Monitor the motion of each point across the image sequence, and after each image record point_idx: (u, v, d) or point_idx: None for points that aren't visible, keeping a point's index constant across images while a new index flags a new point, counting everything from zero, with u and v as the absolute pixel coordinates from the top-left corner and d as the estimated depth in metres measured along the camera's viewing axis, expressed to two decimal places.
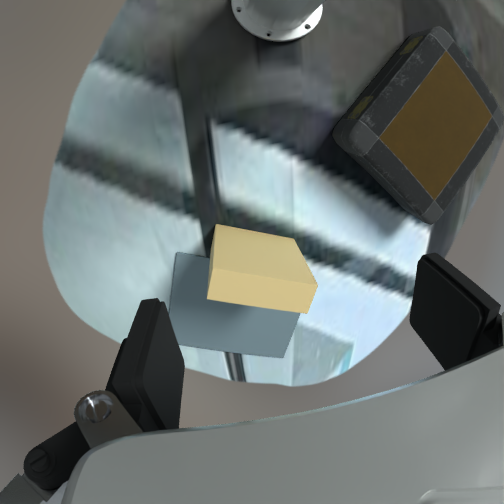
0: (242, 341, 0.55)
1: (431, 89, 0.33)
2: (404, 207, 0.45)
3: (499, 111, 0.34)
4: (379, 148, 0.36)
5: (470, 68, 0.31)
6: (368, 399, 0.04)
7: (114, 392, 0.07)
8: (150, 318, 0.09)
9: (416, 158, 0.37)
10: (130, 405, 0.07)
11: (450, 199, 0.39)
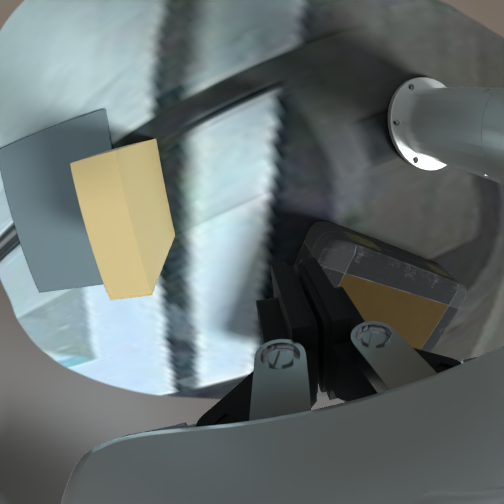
0: (34, 237, 0.36)
1: (409, 306, 0.36)
2: None
3: None
4: (334, 279, 0.34)
5: (439, 334, 0.39)
6: (368, 399, 0.04)
7: None
8: (291, 277, 0.10)
9: None
10: None
11: None
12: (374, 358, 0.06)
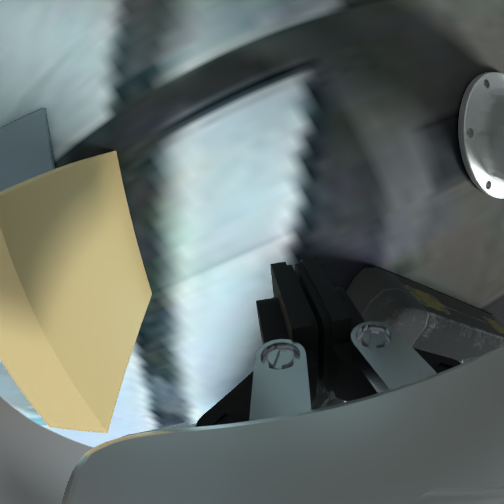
0: None
1: None
2: None
3: None
4: None
5: None
6: (368, 399, 0.04)
7: None
8: (291, 277, 0.10)
9: None
10: None
11: None
12: (374, 358, 0.06)
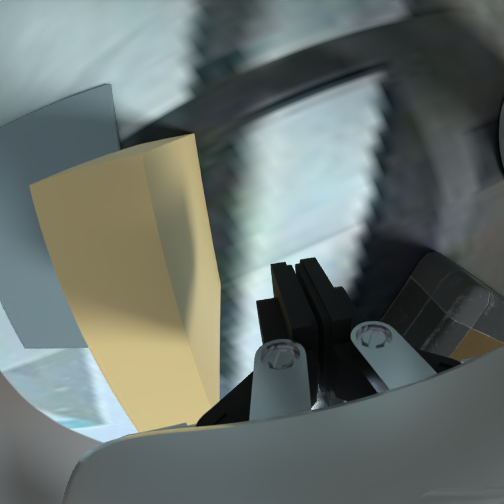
0: (9, 278, 0.23)
1: None
2: None
3: None
4: (458, 335, 0.21)
5: None
6: (368, 399, 0.04)
7: None
8: (291, 277, 0.10)
9: None
10: None
11: None
12: (374, 358, 0.06)
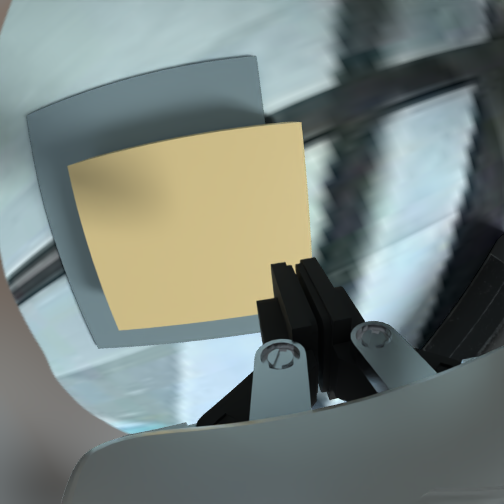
0: (94, 266, 0.23)
1: None
2: None
3: None
4: None
5: None
6: (368, 399, 0.04)
7: None
8: (291, 277, 0.10)
9: None
10: None
11: None
12: (374, 358, 0.06)
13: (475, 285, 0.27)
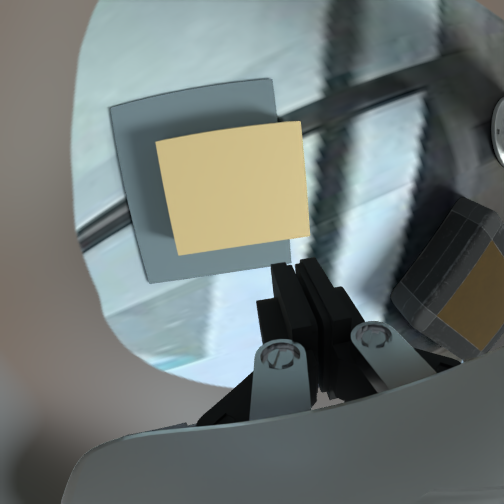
0: (156, 216, 0.35)
1: None
2: (405, 288, 0.40)
3: None
4: (485, 242, 0.33)
5: None
6: (368, 399, 0.04)
7: None
8: (291, 277, 0.10)
9: (472, 283, 0.35)
10: None
11: (432, 334, 0.38)
12: (374, 358, 0.06)
13: (440, 232, 0.39)
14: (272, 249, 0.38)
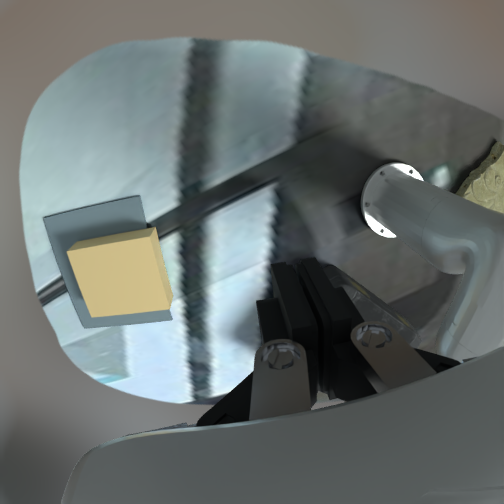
0: None
1: None
2: None
3: None
4: None
5: None
6: (368, 399, 0.04)
7: None
8: (291, 277, 0.10)
9: None
10: None
11: None
12: (374, 358, 0.06)
13: None
14: (157, 311, 0.52)
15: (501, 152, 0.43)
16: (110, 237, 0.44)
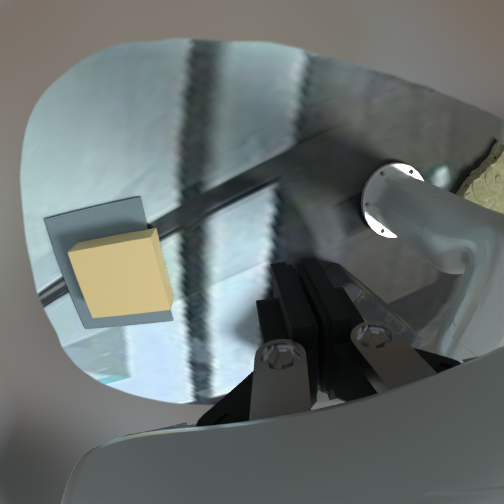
0: None
1: None
2: None
3: None
4: None
5: None
6: (368, 399, 0.04)
7: None
8: (291, 277, 0.10)
9: None
10: None
11: None
12: (374, 358, 0.06)
13: None
14: (157, 311, 0.52)
15: (501, 152, 0.43)
16: (111, 238, 0.44)
